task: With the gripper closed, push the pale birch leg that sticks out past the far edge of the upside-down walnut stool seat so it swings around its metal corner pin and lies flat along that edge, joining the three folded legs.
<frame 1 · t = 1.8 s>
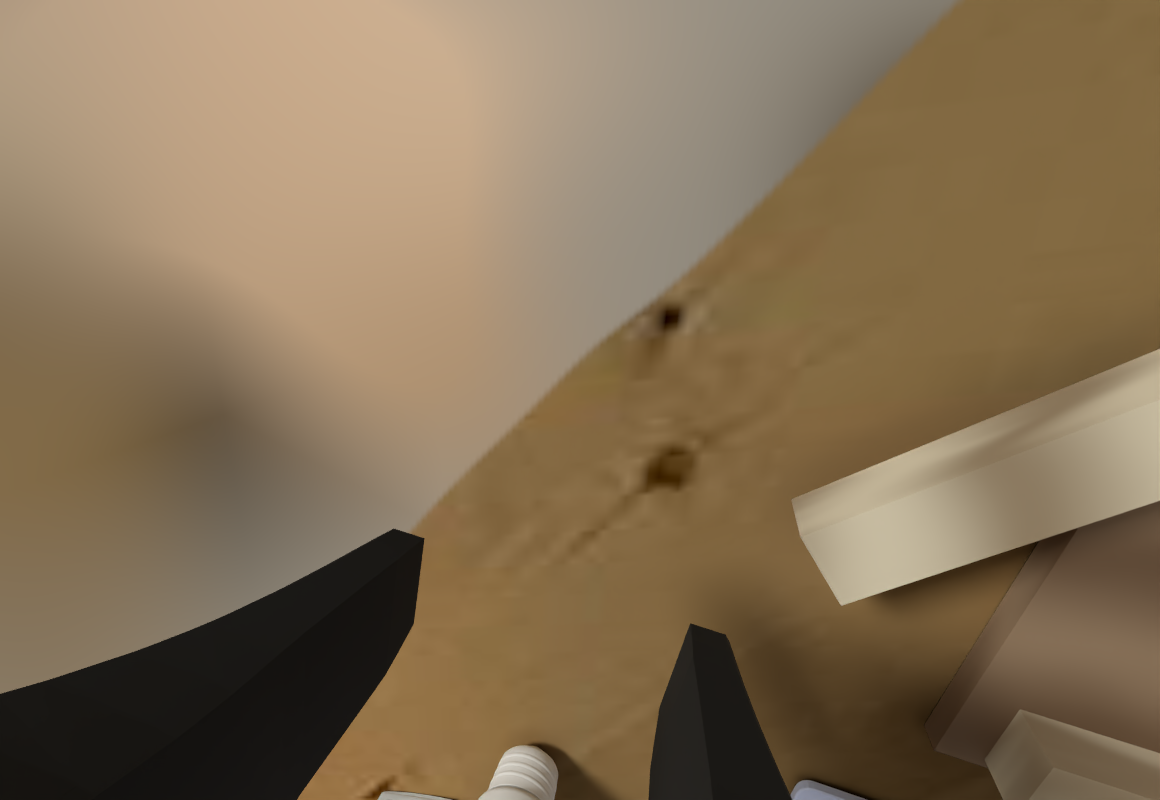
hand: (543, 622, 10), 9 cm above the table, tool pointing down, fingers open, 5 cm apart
hinged leg: (1061, 461, 14), point 2 cm above the table, hinge at -45.0°
lightbulb: (536, 747, 25), on the table
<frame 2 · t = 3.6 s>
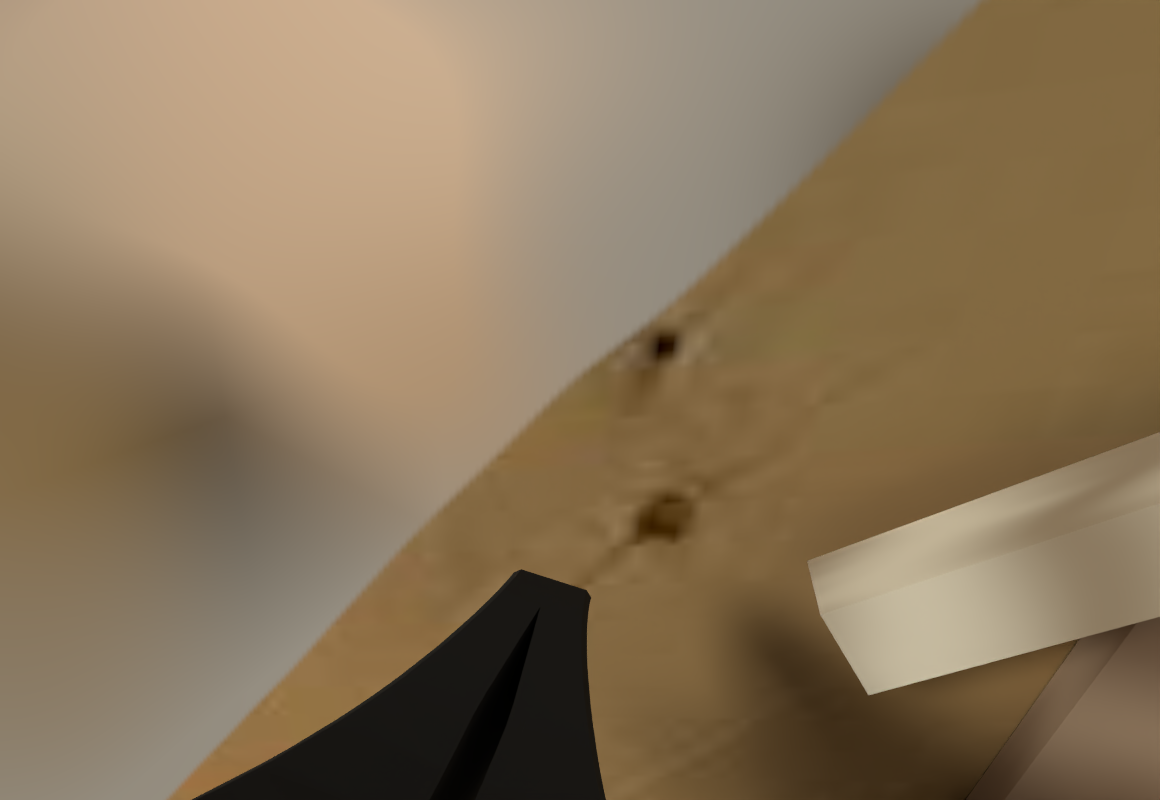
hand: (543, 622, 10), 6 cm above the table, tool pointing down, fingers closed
hinged leg: (1143, 530, 12), point 2 cm above the table, hinge at -45.0°
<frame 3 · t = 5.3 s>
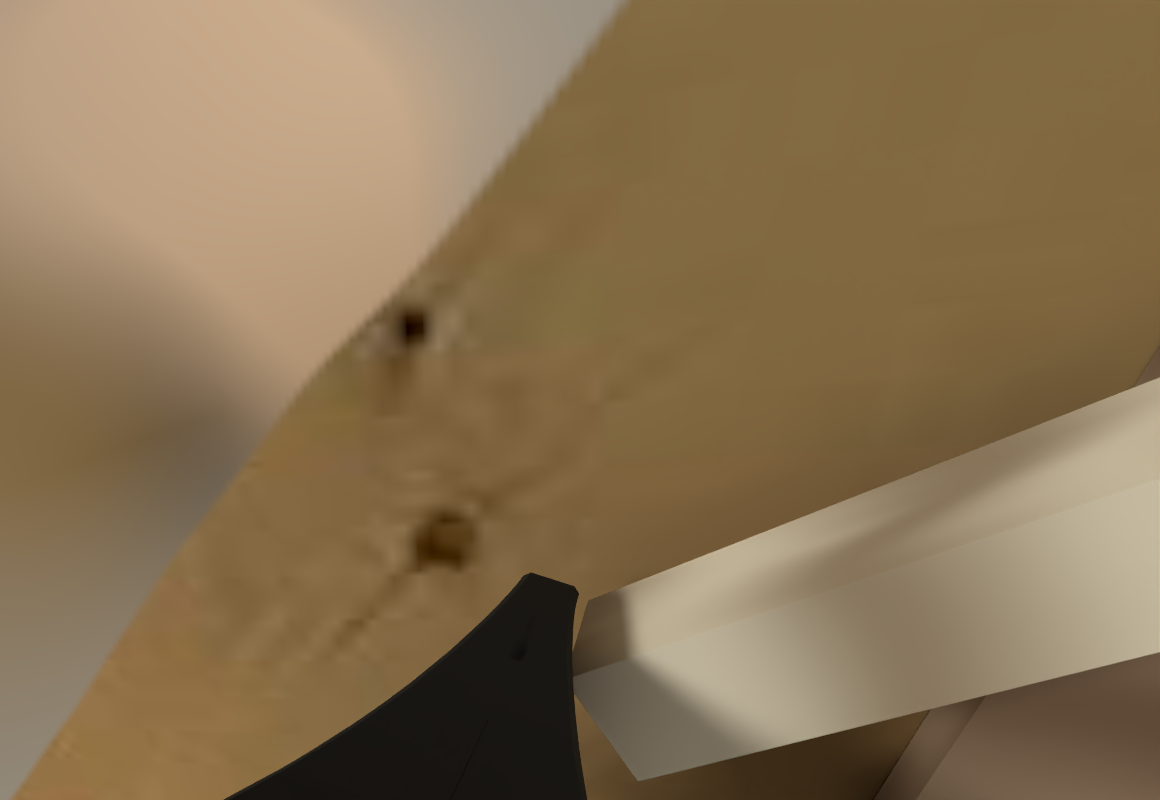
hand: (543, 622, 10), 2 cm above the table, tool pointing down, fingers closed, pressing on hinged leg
hinged leg: (970, 574, 9), point 2 cm above the table, hinge at -44.9°, touching gripper
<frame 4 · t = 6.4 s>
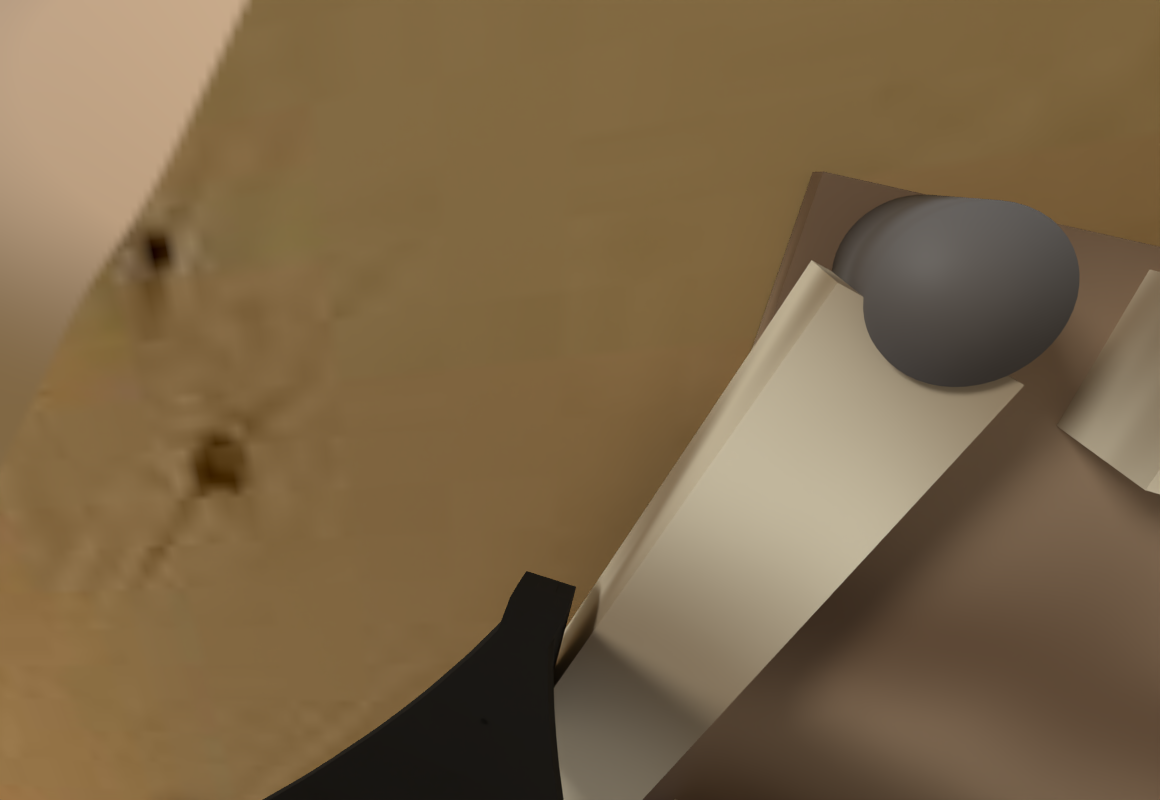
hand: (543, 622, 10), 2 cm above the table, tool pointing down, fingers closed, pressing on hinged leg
hinged leg: (710, 570, 9), point 2 cm above the table, hinge at -14.5°, touching gripper
stool seat: (1076, 695, 11), on the table
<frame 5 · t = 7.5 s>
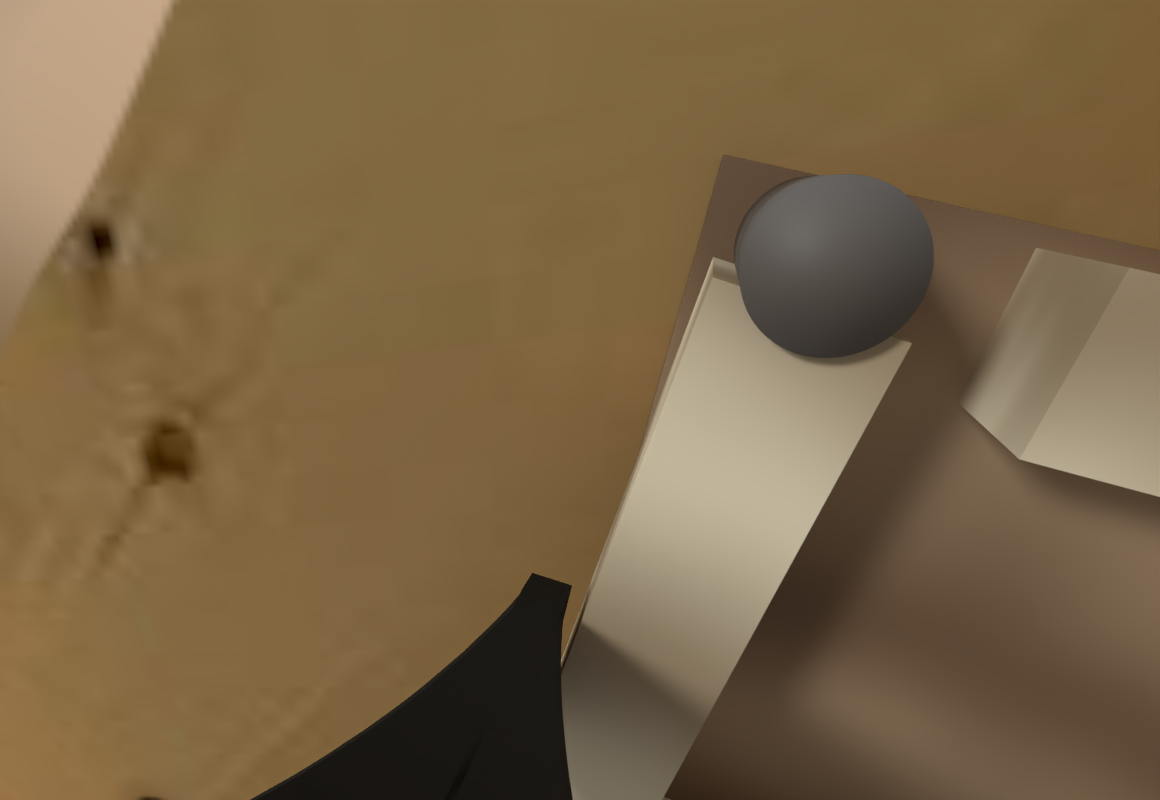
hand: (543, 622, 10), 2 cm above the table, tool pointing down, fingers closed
hinged leg: (676, 571, 10), point 2 cm above the table, hinge at -4.4°, touching gripper
stool seat: (999, 672, 12), on the table
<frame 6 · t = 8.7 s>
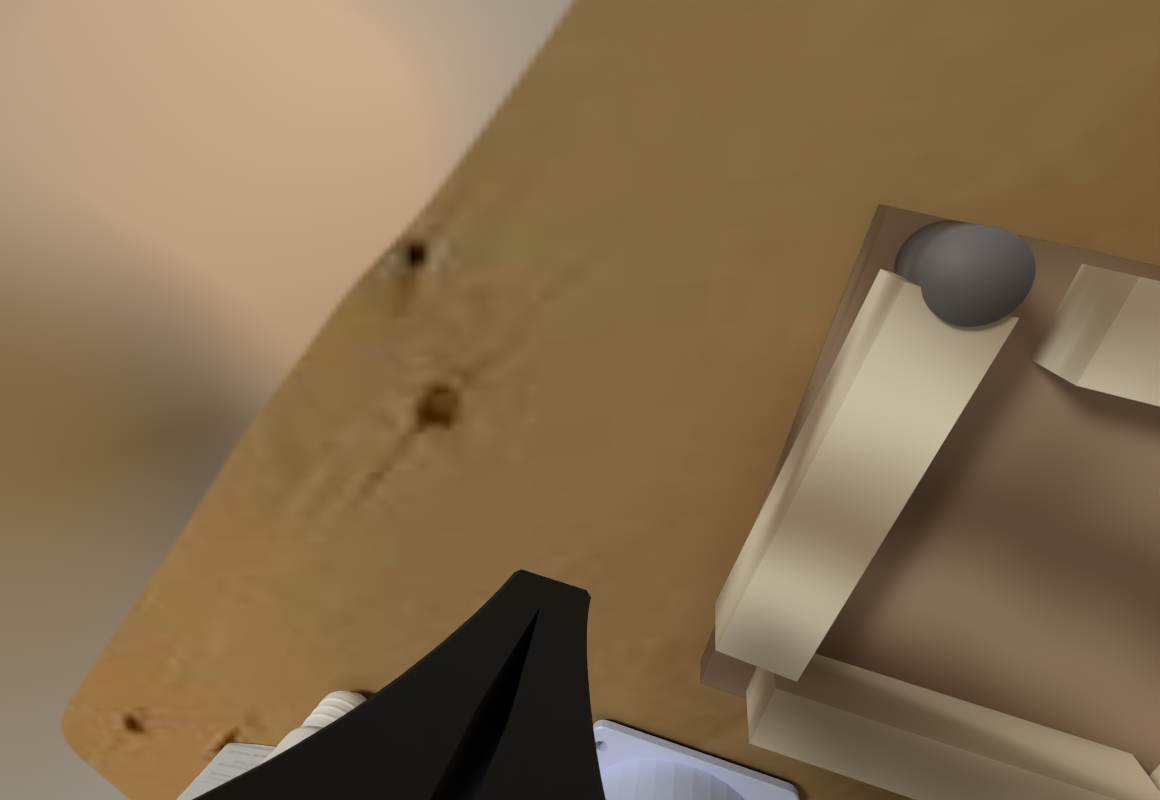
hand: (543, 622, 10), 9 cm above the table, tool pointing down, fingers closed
hinged leg: (849, 468, 15), point 2 cm above the table, hinge at -4.3°
skincare box: (280, 780, 29), on the table
lightbulb: (361, 695, 26), on the table
stool seat: (1048, 549, 17), on the table
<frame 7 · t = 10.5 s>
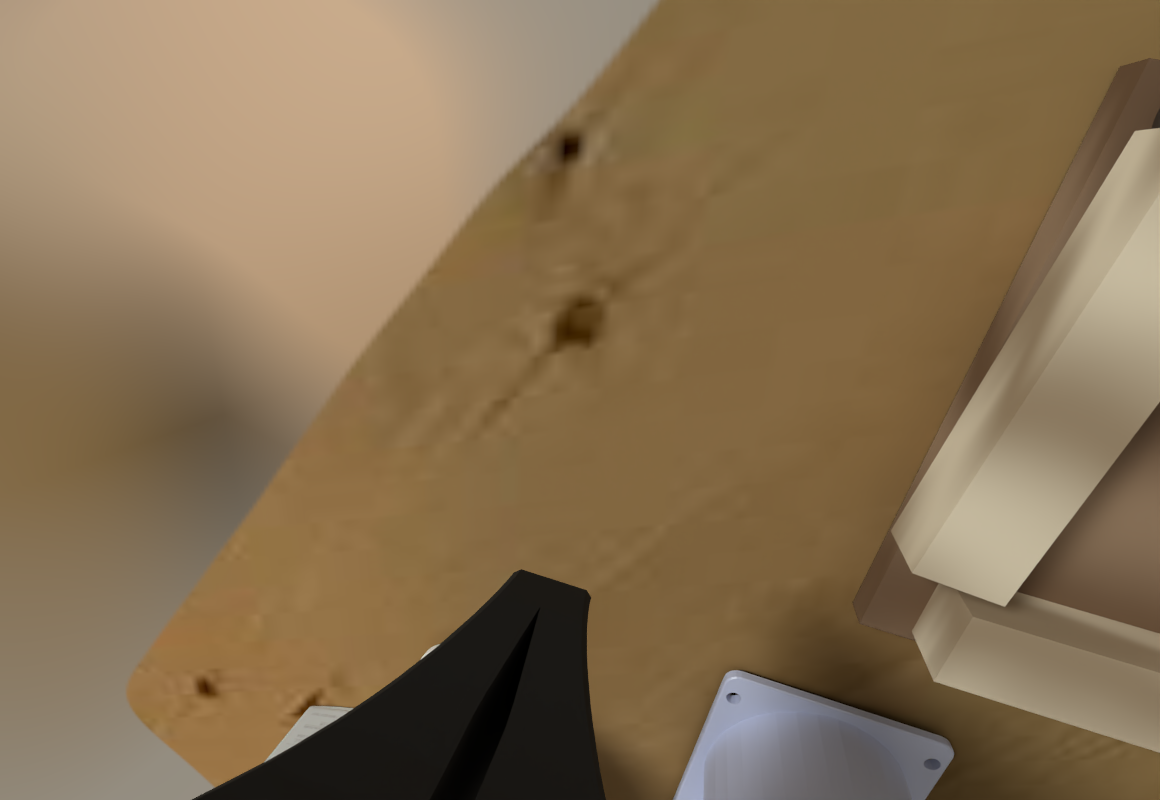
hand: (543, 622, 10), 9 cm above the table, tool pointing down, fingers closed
hinged leg: (1086, 360, 13), point 2 cm above the table, hinge at -4.3°
skincare box: (363, 746, 28), on the table
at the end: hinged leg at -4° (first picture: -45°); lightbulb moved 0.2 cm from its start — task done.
